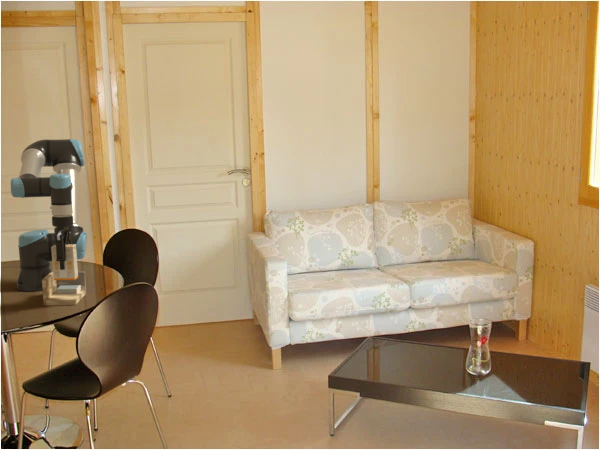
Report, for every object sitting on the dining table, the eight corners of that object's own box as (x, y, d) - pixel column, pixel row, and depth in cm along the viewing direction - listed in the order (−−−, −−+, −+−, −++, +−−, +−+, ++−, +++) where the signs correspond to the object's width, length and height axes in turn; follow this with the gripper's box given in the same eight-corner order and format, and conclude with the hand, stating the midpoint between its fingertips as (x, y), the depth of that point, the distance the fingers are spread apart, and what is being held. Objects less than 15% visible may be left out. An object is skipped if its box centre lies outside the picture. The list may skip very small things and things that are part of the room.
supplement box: (78, 277, 268) (76, 243, 266) (75, 280, 264) (73, 246, 261) (56, 277, 268) (54, 244, 266) (52, 280, 263) (50, 246, 261)
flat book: (61, 289, 278) (61, 284, 278) (81, 289, 279) (80, 284, 278) (56, 294, 272) (56, 288, 272) (77, 293, 273) (76, 288, 272)
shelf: (55, 293, 280) (54, 269, 278) (86, 293, 281) (84, 269, 279) (43, 305, 264) (41, 279, 263) (75, 304, 265) (74, 279, 263)
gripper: (58, 211, 270) (62, 270, 274) (44, 219, 253) (48, 281, 257) (78, 211, 271) (81, 270, 275) (65, 219, 253) (69, 281, 257)
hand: (65, 275), depth 266 cm, fingers closed on supplement box, 5 cm apart
